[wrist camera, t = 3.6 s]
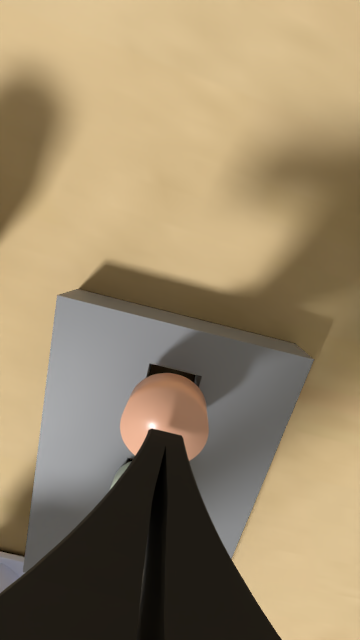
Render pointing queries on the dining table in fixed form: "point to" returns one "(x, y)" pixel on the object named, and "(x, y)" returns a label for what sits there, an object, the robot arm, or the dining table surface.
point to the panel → (113, 394)
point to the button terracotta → (166, 412)
